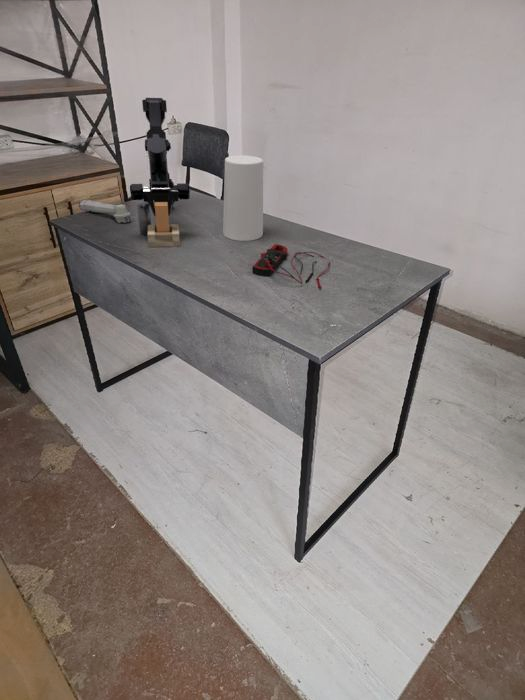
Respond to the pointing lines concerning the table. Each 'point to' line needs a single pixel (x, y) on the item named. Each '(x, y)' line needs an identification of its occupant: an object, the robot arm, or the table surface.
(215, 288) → the table surface
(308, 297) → the table surface
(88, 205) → the grey knobbed rod
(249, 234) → the cylinder
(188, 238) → the table surface
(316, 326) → the table surface
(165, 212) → the square bit
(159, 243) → the socket block
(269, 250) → the digital clamp meter
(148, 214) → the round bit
